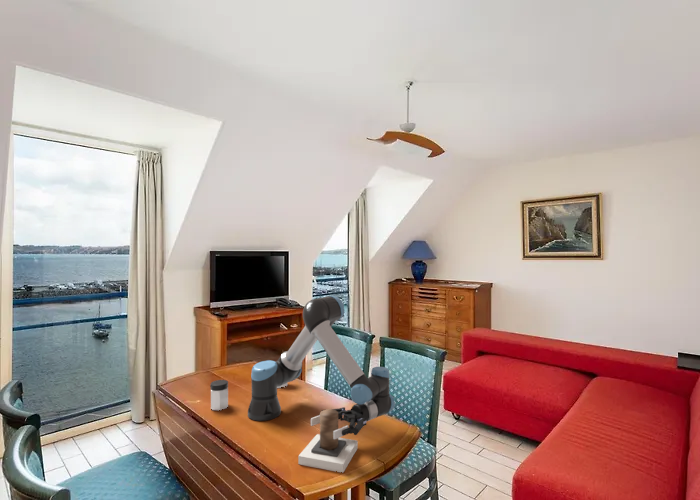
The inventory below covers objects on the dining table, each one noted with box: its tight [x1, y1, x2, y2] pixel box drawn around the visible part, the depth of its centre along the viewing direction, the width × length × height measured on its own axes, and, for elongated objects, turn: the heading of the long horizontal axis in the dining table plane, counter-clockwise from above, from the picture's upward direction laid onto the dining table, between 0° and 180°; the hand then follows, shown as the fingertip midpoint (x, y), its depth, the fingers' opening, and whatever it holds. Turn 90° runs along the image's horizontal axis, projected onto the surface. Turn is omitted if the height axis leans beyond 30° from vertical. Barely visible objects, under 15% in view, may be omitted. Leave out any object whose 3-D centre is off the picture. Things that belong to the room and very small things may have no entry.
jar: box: [209, 379, 229, 411], centre depth 187 cm, size 9×8×12 cm
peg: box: [319, 408, 339, 450], centre depth 143 cm, size 7×7×16 cm
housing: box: [297, 433, 359, 474], centre depth 143 cm, size 17×17×4 cm
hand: (322, 428), depth 141 cm, fingers open, 13 cm apart
